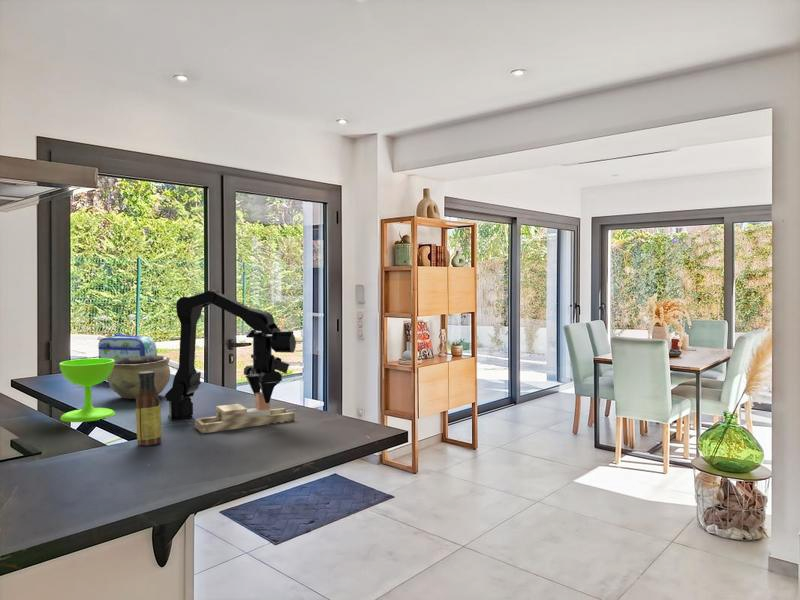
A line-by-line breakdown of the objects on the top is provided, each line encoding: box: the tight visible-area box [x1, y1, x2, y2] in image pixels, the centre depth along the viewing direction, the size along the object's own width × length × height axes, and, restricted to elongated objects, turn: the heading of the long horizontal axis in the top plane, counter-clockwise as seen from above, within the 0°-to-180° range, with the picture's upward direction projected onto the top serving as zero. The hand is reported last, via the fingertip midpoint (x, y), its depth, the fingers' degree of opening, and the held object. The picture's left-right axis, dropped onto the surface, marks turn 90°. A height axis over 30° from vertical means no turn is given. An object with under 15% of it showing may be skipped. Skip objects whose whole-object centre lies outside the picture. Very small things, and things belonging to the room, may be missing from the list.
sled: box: [221, 391, 271, 421], centre depth 180 cm, size 14×4×8 cm, turn 123°
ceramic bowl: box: [107, 354, 171, 400], centre depth 217 cm, size 22×22×15 cm
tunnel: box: [194, 403, 295, 434], centre depth 180 cm, size 29×8×6 cm, turn 123°
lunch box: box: [97, 333, 158, 381], centre depth 249 cm, size 26×11×21 cm, turn 69°
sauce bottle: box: [135, 371, 163, 447], centre depth 157 cm, size 7×6×20 cm
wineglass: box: [58, 357, 116, 423], centre depth 188 cm, size 16×16×18 cm
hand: (262, 400), depth 183 cm, fingers open, 9 cm apart
